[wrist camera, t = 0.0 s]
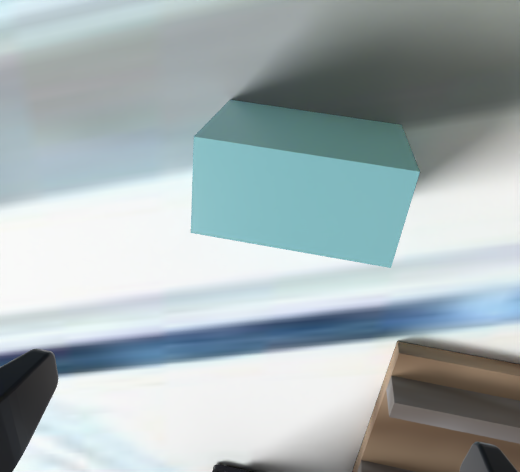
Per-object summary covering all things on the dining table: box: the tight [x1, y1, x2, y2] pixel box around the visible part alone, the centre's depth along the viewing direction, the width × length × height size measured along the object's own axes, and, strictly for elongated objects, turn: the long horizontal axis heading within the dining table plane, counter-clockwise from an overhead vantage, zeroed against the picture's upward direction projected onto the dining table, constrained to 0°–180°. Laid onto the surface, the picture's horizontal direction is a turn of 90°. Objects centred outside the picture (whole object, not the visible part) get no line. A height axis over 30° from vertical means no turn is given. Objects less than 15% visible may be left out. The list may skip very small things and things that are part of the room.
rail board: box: [352, 341, 520, 472], centre depth 28 cm, size 13×16×3 cm
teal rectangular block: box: [191, 100, 420, 268], centre depth 19 cm, size 4×8×6 cm, turn 85°
